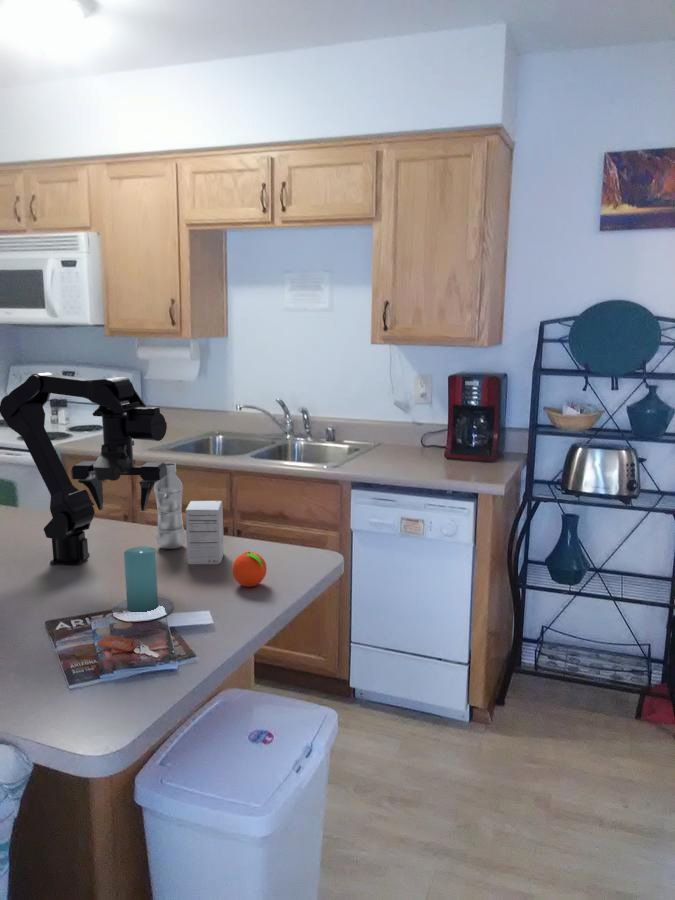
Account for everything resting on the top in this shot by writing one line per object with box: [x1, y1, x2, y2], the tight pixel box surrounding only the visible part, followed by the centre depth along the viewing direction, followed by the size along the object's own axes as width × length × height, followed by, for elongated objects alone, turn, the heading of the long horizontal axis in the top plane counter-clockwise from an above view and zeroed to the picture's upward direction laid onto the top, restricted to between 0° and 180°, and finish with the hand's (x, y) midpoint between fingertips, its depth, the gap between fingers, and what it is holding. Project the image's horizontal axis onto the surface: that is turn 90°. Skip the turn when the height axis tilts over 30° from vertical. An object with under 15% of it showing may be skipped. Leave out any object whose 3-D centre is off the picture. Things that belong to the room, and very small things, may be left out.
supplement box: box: [185, 500, 225, 565], centre depth 159 cm, size 7×7×13 cm
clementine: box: [231, 551, 268, 588], centre depth 144 cm, size 8×7×7 cm
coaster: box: [111, 596, 174, 615], centre depth 133 cm, size 11×11×1 cm
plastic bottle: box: [153, 462, 187, 550], centre depth 166 cm, size 6×7×20 cm
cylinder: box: [123, 546, 159, 612], centre depth 132 cm, size 6×6×11 cm
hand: (121, 510), depth 152 cm, fingers open, 9 cm apart
